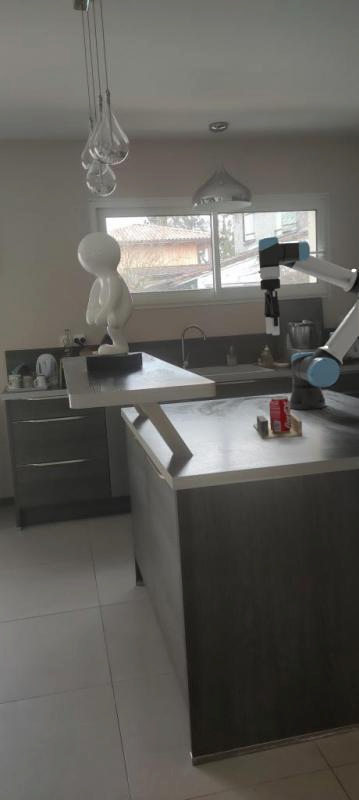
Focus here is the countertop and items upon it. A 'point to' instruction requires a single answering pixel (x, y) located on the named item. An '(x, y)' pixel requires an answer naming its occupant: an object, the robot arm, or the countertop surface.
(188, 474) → the countertop surface
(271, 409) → the soda can
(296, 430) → the u-shaped channel bracket
